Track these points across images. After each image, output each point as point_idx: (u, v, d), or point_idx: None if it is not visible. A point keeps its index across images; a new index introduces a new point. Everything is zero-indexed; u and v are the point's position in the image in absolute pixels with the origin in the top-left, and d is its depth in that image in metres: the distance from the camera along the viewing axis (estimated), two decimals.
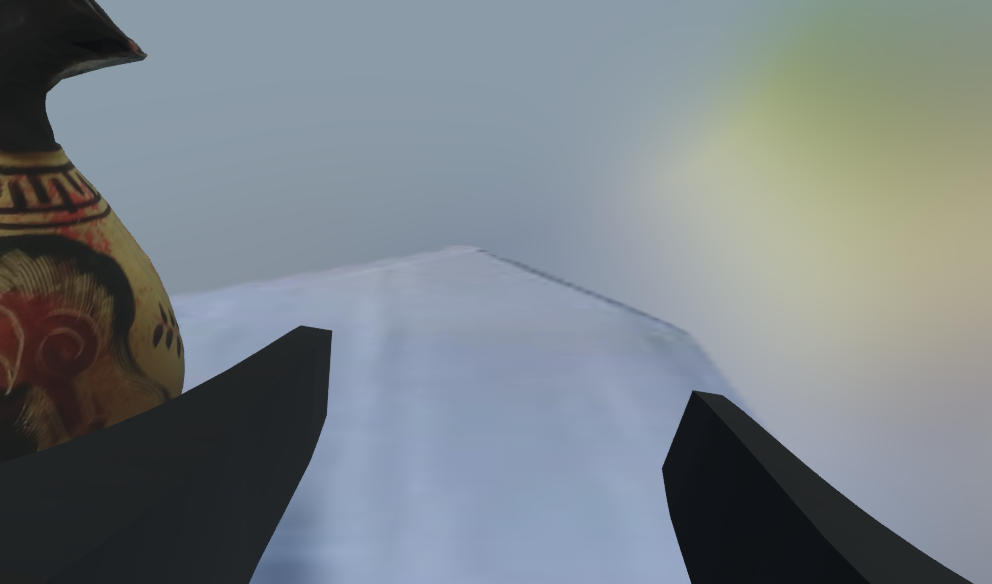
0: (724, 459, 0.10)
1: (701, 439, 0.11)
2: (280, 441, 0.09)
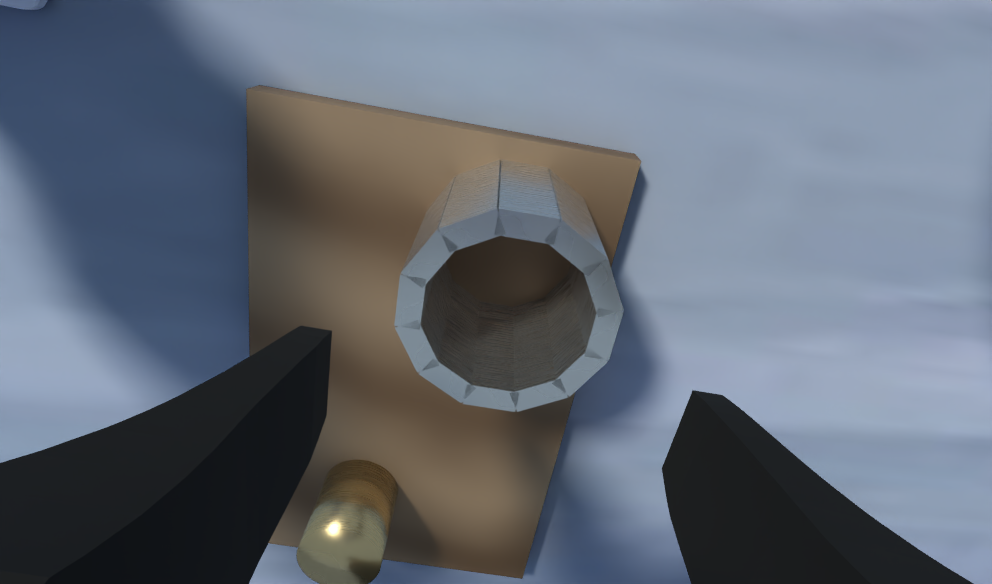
0: (724, 459, 0.10)
1: (701, 439, 0.11)
2: (280, 441, 0.09)
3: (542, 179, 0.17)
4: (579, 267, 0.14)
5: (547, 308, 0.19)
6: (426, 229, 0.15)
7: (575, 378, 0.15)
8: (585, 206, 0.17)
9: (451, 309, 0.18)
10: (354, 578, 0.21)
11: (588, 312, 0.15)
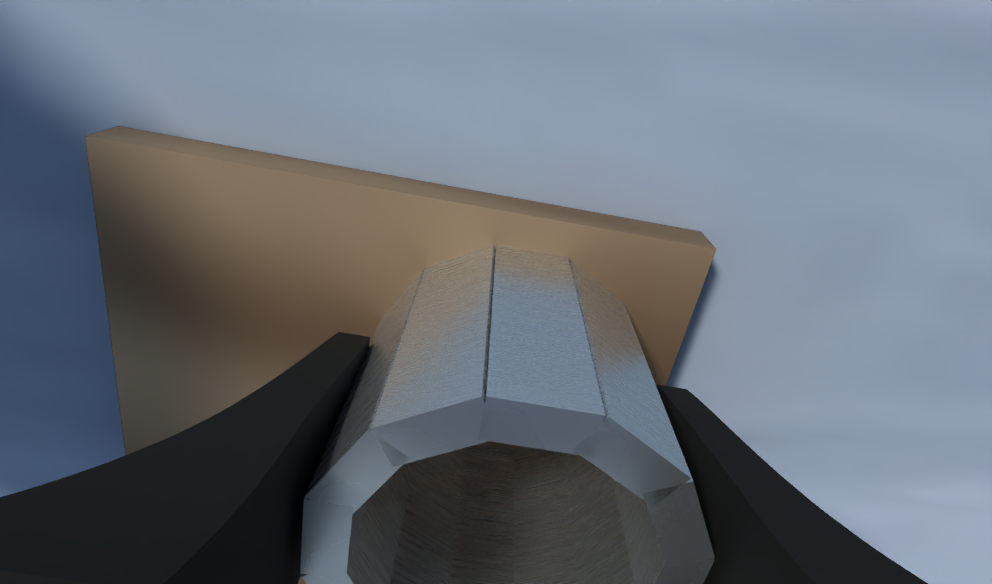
0: (682, 452, 0.10)
1: None
2: None
3: (562, 289, 0.10)
4: (638, 493, 0.07)
5: (565, 464, 0.12)
6: (363, 388, 0.09)
7: None
8: (629, 325, 0.11)
9: (416, 476, 0.12)
10: None
11: (643, 533, 0.09)
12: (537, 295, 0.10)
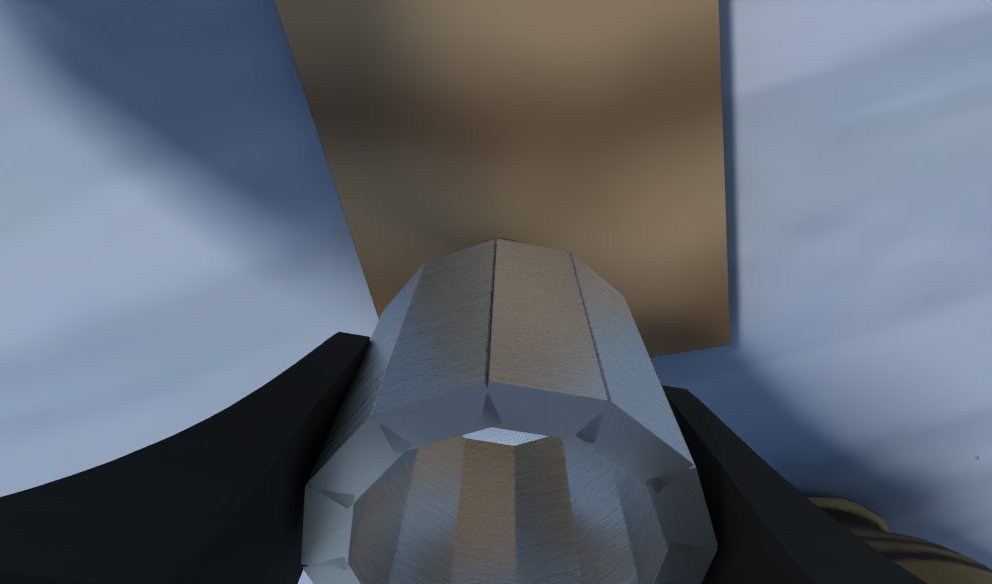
0: None
1: None
2: None
3: (563, 281, 0.10)
4: (641, 480, 0.07)
5: (566, 460, 0.12)
6: (365, 379, 0.09)
7: None
8: (630, 318, 0.11)
9: (417, 472, 0.12)
10: None
11: (646, 524, 0.09)
12: (538, 286, 0.10)
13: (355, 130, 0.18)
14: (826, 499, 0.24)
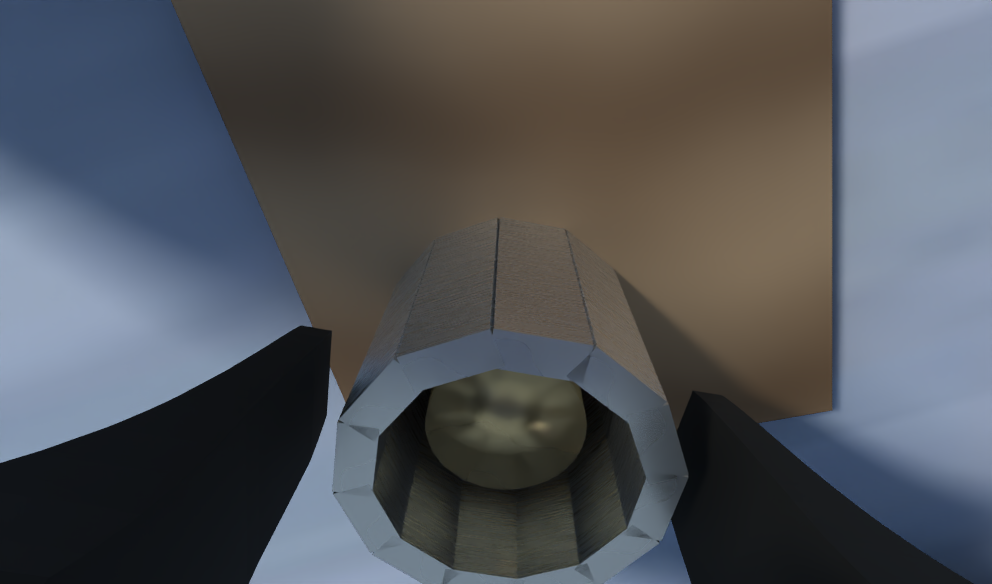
0: (724, 459, 0.10)
1: (701, 439, 0.11)
2: (280, 441, 0.09)
3: (559, 253, 0.11)
4: (622, 415, 0.09)
5: None
6: (385, 335, 0.10)
7: (609, 563, 0.10)
8: (619, 287, 0.12)
9: None
10: (547, 456, 0.11)
11: (629, 462, 0.10)
12: (536, 257, 0.11)
13: (285, 132, 0.12)
14: None
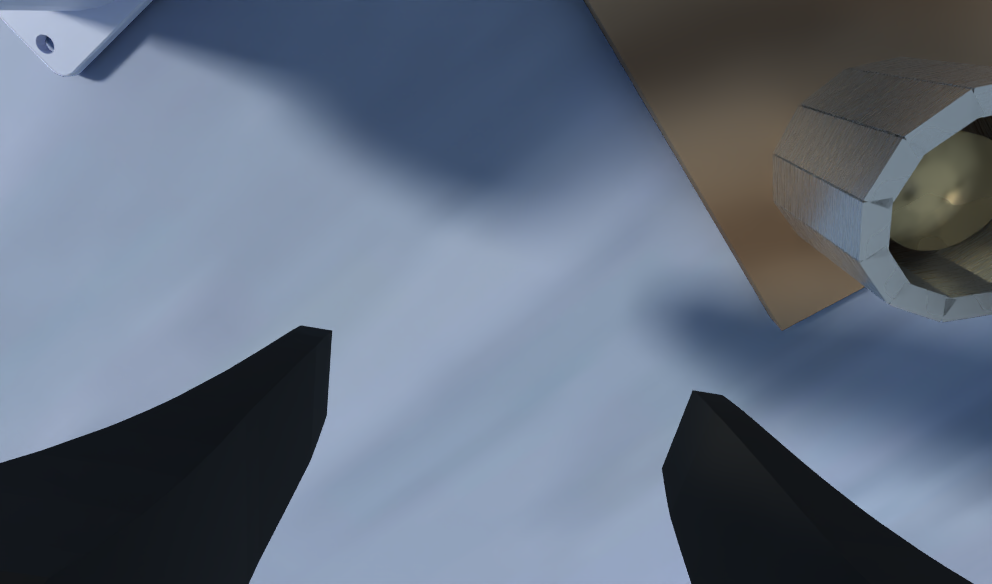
0: (724, 459, 0.10)
1: (701, 439, 0.11)
2: (280, 441, 0.09)
3: (928, 63, 0.15)
4: None
5: None
6: (841, 155, 0.14)
7: None
8: None
9: None
10: (980, 206, 0.15)
11: None
12: (919, 68, 0.15)
13: (677, 67, 0.17)
14: None
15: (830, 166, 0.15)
